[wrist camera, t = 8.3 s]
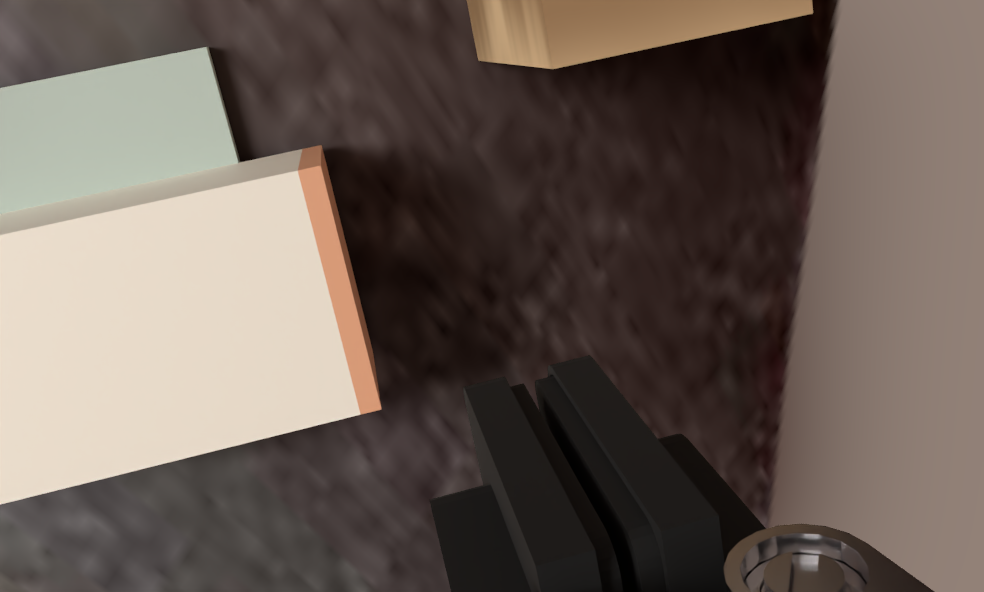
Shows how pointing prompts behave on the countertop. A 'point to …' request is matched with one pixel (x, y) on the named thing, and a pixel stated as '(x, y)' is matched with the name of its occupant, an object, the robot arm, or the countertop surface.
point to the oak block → (608, 26)
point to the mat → (111, 129)
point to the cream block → (176, 322)
